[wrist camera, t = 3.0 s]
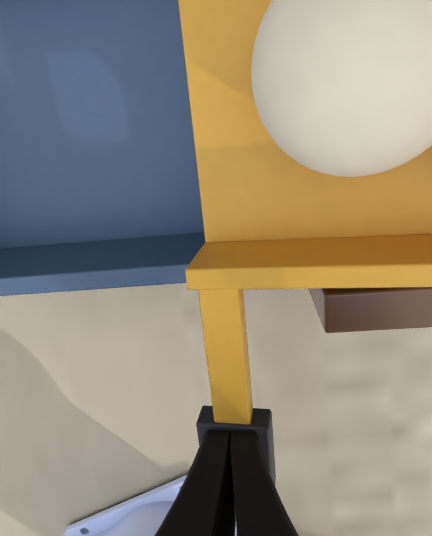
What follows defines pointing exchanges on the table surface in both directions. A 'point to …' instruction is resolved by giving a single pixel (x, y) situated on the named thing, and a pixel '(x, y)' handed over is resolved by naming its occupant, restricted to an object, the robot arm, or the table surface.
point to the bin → (95, 146)
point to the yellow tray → (278, 212)
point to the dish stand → (373, 308)
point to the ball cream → (346, 82)
